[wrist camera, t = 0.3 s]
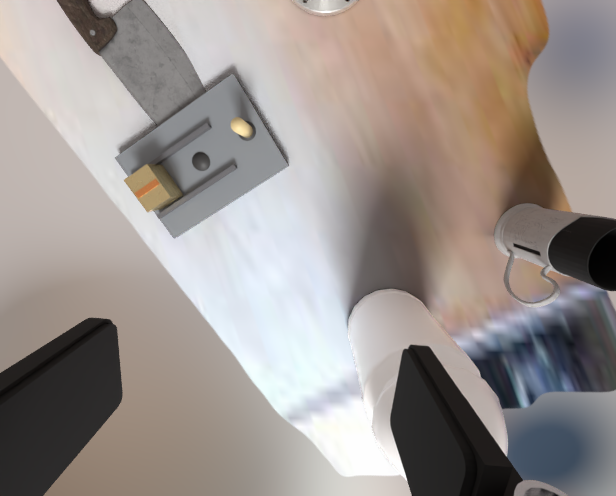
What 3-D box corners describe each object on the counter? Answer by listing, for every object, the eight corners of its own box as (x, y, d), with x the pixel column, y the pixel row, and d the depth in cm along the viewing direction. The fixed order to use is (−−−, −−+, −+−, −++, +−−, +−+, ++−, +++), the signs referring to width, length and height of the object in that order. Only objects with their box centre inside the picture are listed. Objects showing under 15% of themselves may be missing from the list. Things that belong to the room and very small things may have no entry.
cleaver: (17, -45, 37) (0, -58, 35) (66, -104, 35) (51, -121, 33) (176, 145, 43) (169, 144, 41) (224, 102, 41) (220, 99, 39)
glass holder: (562, 231, 45) (683, 259, 30) (487, 290, 47) (565, 341, 33) (530, 191, 43) (641, 199, 29) (454, 254, 46) (521, 291, 31)
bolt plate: (121, 158, 43) (88, 155, 36) (235, 77, 40) (221, 58, 34) (178, 236, 46) (156, 246, 39) (288, 165, 43) (284, 164, 36)
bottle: (405, 369, 51) (510, 589, 24) (334, 344, 50) (360, 545, 23) (442, 303, 48) (612, 470, 21) (366, 274, 47) (442, 411, 20)
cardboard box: (141, 179, 42) (123, 180, 38) (162, 164, 41) (146, 163, 37) (162, 208, 43) (146, 212, 39) (183, 194, 42) (170, 197, 38)
